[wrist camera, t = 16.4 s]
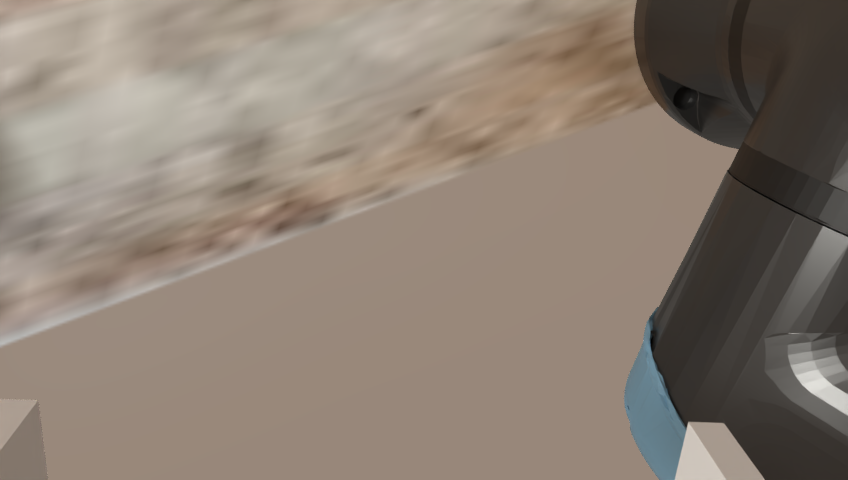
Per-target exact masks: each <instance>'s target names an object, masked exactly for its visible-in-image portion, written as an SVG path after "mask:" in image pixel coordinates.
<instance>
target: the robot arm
mask: <svg viewBox="0 0 848 480" xmlns="http://www.w3.org/2000/svg"><path fill="white" fill-rule="evenodd" d="M634 40H635V49H636V55H637V59H638V64H639V67H640V70H641V73H642V76H643V78H644V80H645V83H646V85H647V87H648V89H649V90H650V92H651V94H652V95H653V97H654V98H655V100H656V101H657V102H658V104H659V105H660V106H661V107H662V108H663V110H664V111H665V112H666V113H667V114H668V115H669V116H671V117H672V118H673V119H674V120H675V121H677V122H678V123H679V124H681V125H682V126H684V127H685V128H687V129H689V130H691V131H692V132H694V133H696V134H698V135H699V136H701V137H703V138H705V139H707V140H709V141H712V142H714V143H717V144H720V145H723V146H727V147H731V148H736V149H739V150H738V152H737V154H736V157H735V159H734V161H733V163H732V165H731V167H730V168H729V170H727V173H726V174H725V176H724V178H723V180H722V182H721V185H720V187H719V189H718V191H717V193H716V195H715V197H714V199H713V201H712V203H711V205H710V207H709V209H708V211H707V213H706V215H705V217H704V219H703V221H702V223H701V225H700V227H699V229H698V231H697V233H696V235H695V237H694V239H693V241H692V243H691V245H690V247H689V250H688V252H687V253H686V255H685V257H684V259H683V261H682V263H681V265H680V267H679V269H678V271H677V273H676V275H675V277H674V279H673V280H672V283H671V285H670V286H669V288H668V290H667V292H666V294H665V296H664V298H663V300H662V302H661V304H660V306H659V307H657V308H656V310H655V311H654V312H653V314H652V315H651V316H650V318H649V320H648V321H647V324H646V327H645V332H644V341H643V344H642V346H641V349H640V351H639V353H638V356H637V358H636V360H635V362H634V365H633V367H632V369H631V371H630V374H629V377H628V379H627V383H626V387H625V396H624V401H625V409H626V413H627V416H628V418H629V421H630V430H631V433H632V435H633V438H634V440H635V442H636V444H637V446H638V448H639V450H640V452H641V454H642V455H643V457H644V459H645V460H646V462H647V463H648V465H649V466H650V468H651V469H652V470H653V472H654V473H655V475H656V476H657V477H658V478H659V480H848V0H637V3H636V10H635V19H634ZM0 480H48V476H47V469H46V460H45V452H44V444H43V437H42V427H41V419H40V411H39V403H38V400H17V399H16V400H15V399H0Z"/></svg>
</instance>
